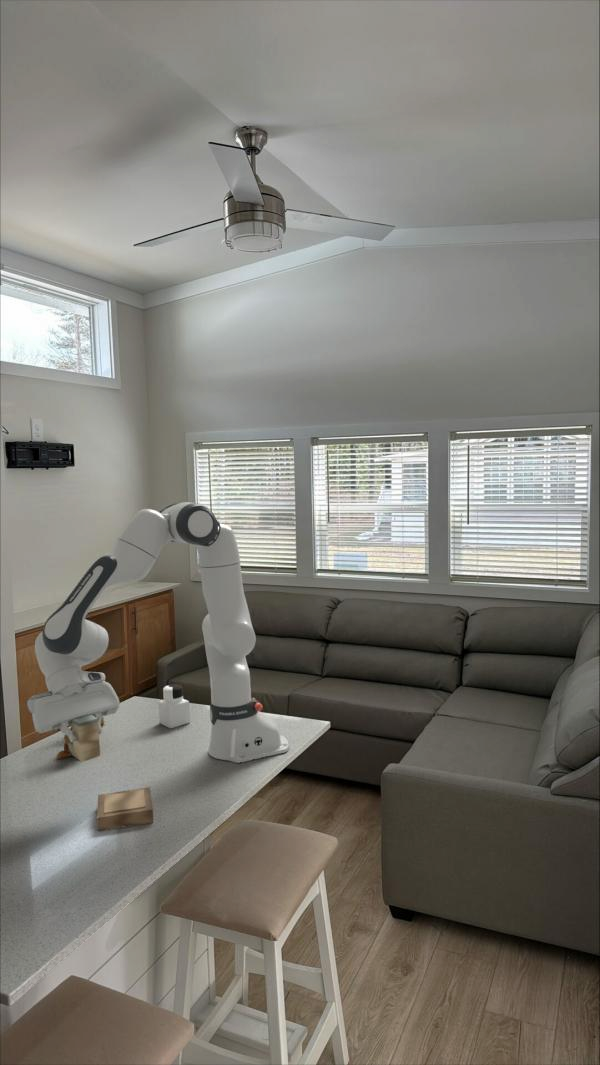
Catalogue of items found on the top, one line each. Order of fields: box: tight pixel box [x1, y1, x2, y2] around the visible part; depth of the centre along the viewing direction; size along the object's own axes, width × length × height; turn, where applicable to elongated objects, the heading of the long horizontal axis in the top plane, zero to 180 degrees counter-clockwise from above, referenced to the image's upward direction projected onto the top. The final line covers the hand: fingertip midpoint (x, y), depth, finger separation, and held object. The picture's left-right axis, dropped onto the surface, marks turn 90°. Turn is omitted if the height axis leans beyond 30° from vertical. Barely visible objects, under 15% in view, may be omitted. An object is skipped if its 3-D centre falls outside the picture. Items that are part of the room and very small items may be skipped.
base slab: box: [96, 786, 154, 832], centre depth 163 cm, size 12×12×3 cm
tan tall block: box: [71, 715, 101, 762], centre depth 167 cm, size 5×5×9 cm
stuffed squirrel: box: [56, 716, 105, 760], centre depth 202 cm, size 10×14×13 cm
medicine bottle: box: [158, 683, 191, 729], centre depth 222 cm, size 7×7×12 cm
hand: (87, 736), depth 166 cm, fingers closed on tan tall block, 4 cm apart
